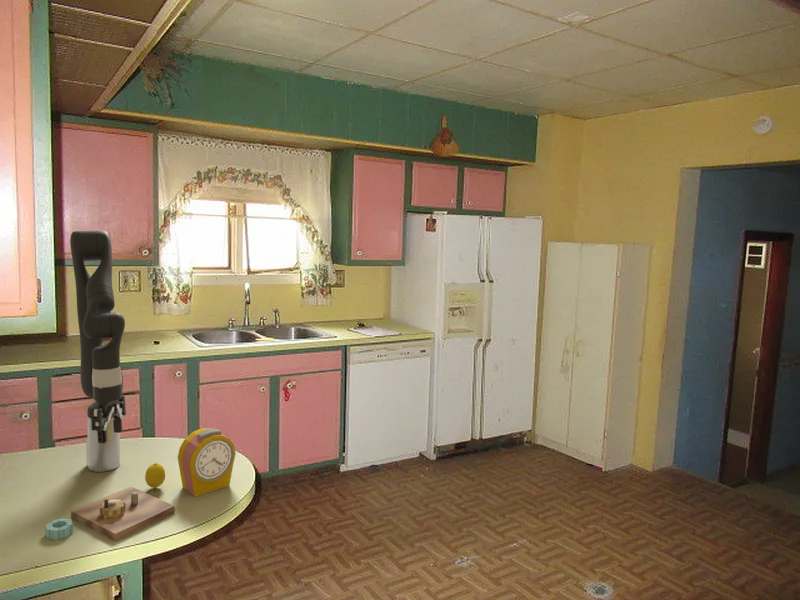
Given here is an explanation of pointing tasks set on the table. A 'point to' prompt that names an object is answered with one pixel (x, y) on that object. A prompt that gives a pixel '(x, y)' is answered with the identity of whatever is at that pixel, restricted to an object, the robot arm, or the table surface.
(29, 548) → the table surface
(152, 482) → the lemon
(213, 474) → the alarm clock
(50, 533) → the teal gear
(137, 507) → the gear board
